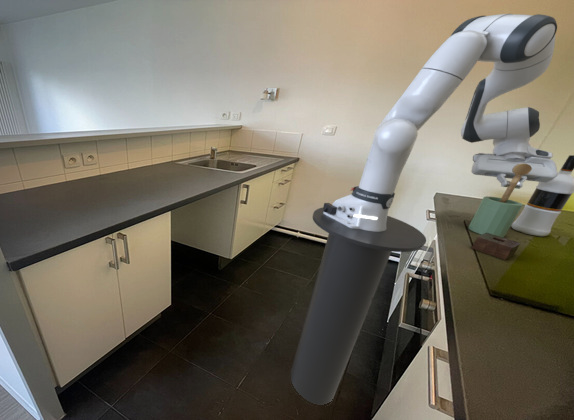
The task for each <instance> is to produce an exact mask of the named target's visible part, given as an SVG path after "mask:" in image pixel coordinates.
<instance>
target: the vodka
mask: <svg viewBox="0 0 574 420" xmlns="http://www.w3.org/2000/svg"><path fill="white" fill-rule="evenodd" d="M573 171H574V154H572V155H568V157H567V158H566V160H565V161H564V163H563V164H562V166H561V168H560V170H558V171H557V176H556V177H555V178H554V179H552V180H551V181H549V182H538V183H537V185H536V186H535V190H534V191H533V193H532V194H531V196H530V198H529V199H528V201H527V203H526V204H524V207H523V209H522V210H521V212H520V214H519V215H518V216H517V217H516V218H515V219H514V221H513V223H512V225H511V226H510V227H511V228H512V229H513V230H514V231H516V232H519V233H522V234H526V235H529V236H534V237H547V236H549V235H550V234H551V231H552V227H553V225H554V223H555V222H556V220H557V218H558V217H559V215H560V214H561V213H562V210H563V209H564V207H565V205H566V204H567V203H568V201H569V199H570V198H571V196H572V195H573V194H574V176H573V175H572V173H573Z"/></svg>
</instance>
